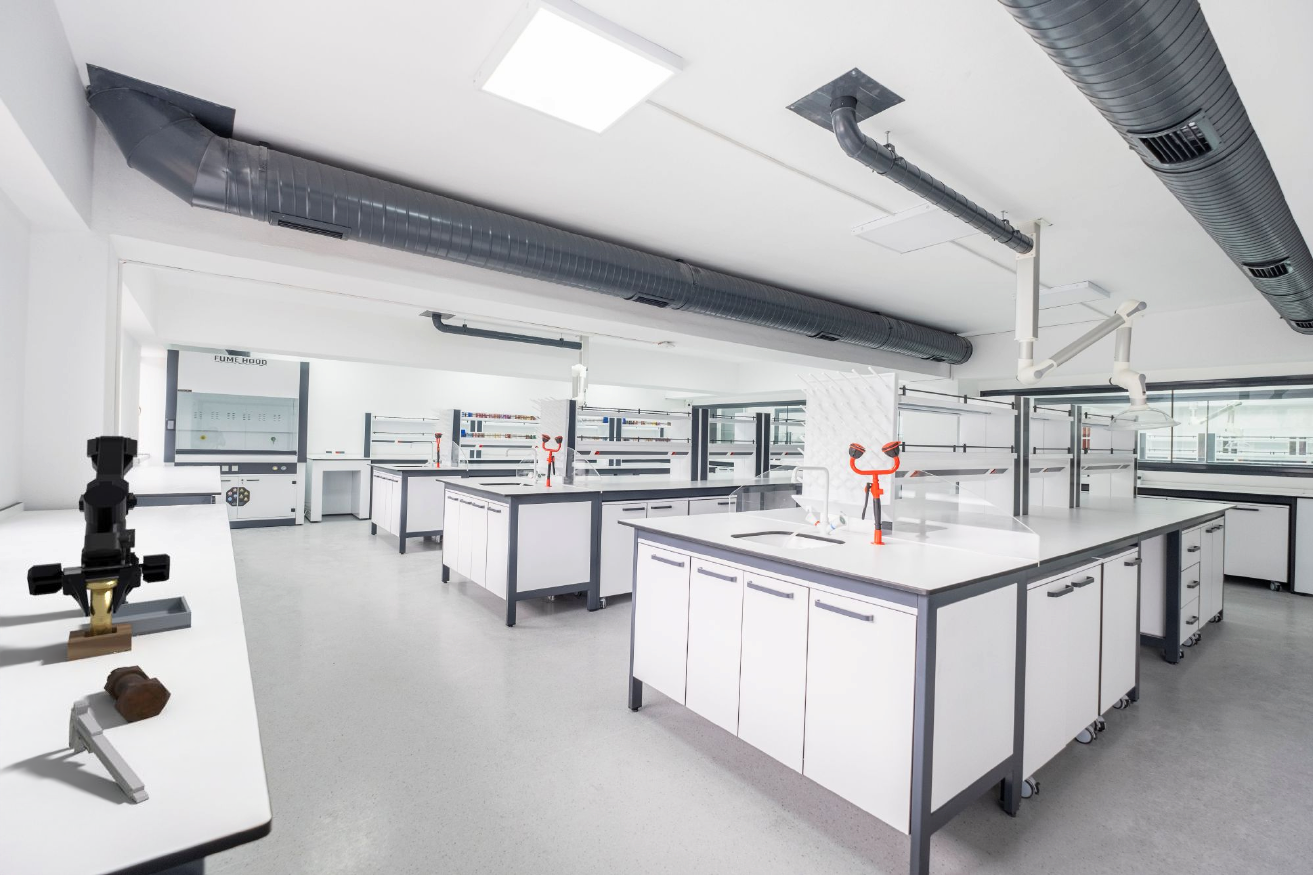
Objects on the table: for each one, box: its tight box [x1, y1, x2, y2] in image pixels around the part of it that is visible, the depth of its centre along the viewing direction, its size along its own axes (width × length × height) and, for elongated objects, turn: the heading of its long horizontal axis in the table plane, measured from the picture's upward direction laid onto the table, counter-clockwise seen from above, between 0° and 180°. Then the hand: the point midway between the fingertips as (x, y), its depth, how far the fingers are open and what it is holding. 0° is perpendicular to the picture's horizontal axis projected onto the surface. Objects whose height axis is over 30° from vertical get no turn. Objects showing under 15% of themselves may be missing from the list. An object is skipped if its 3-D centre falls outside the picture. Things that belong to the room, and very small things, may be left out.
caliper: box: [68, 698, 150, 804], centre depth 67 cm, size 20×1×6 cm, turn 60°
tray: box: [112, 595, 192, 637], centre depth 118 cm, size 15×13×3 cm
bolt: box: [103, 664, 172, 724], centre depth 84 cm, size 6×5×15 cm
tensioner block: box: [66, 622, 133, 662], centre depth 104 cm, size 8×8×3 cm
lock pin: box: [86, 579, 117, 637], centre depth 104 cm, size 4×4×12 cm
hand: (100, 613), depth 103 cm, fingers closed on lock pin, 3 cm apart
